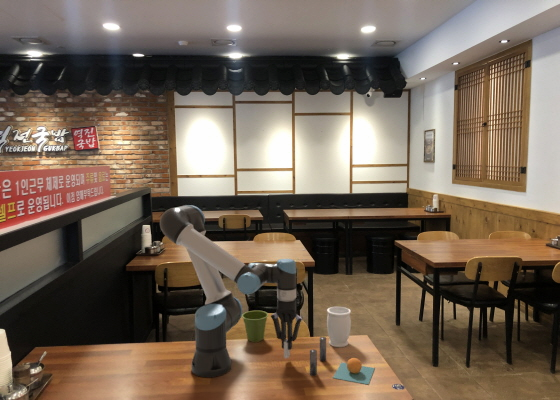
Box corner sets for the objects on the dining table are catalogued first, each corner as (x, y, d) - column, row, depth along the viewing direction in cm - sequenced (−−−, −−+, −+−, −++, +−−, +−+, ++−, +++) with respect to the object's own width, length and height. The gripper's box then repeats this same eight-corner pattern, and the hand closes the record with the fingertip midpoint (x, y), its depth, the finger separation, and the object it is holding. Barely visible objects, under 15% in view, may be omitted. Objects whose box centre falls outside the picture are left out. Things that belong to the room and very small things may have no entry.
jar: (350, 349, 180) (350, 315, 179) (325, 347, 182) (325, 313, 181) (351, 339, 190) (351, 306, 189) (327, 337, 192) (328, 305, 191)
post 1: (308, 375, 158) (308, 351, 157) (311, 372, 160) (311, 348, 160) (315, 376, 157) (315, 352, 156) (317, 373, 159) (317, 350, 159)
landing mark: (332, 378, 156) (332, 377, 156) (341, 362, 168) (341, 362, 168) (368, 384, 151) (368, 384, 151) (374, 368, 163) (374, 368, 163)
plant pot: (260, 332, 199) (260, 308, 198) (273, 341, 189) (273, 316, 188) (237, 337, 193) (237, 313, 192) (249, 346, 183) (248, 321, 182)
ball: (362, 375, 156) (347, 377, 158) (364, 368, 161) (350, 370, 163) (357, 360, 156) (343, 362, 158) (360, 354, 161) (346, 356, 163)
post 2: (318, 360, 170) (318, 338, 169) (320, 358, 172) (320, 336, 171) (325, 361, 169) (325, 339, 168) (326, 359, 171) (326, 337, 170)
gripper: (267, 299, 166) (268, 357, 168) (299, 303, 161) (299, 363, 163) (275, 294, 173) (275, 350, 175) (305, 297, 168) (305, 355, 170)
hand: (286, 356), depth 169 cm, fingers closed
